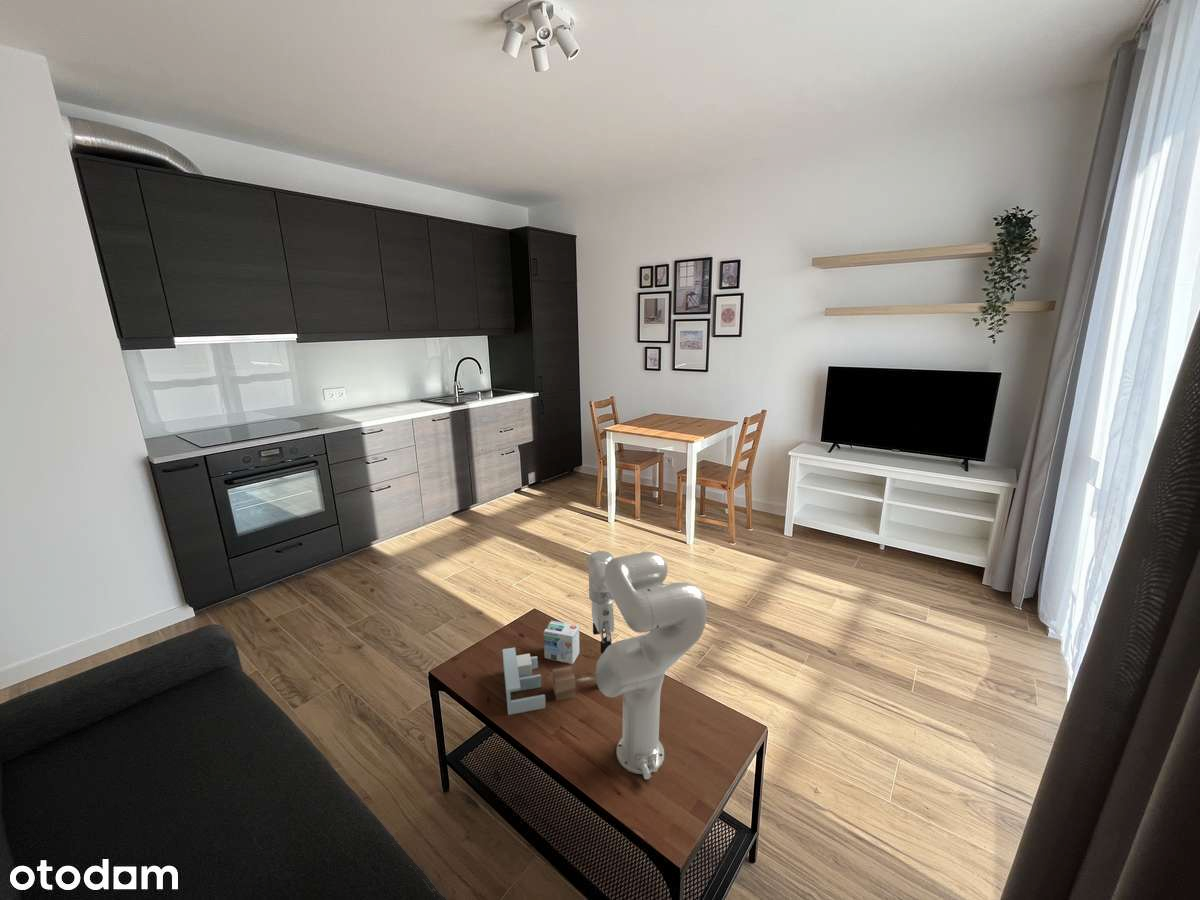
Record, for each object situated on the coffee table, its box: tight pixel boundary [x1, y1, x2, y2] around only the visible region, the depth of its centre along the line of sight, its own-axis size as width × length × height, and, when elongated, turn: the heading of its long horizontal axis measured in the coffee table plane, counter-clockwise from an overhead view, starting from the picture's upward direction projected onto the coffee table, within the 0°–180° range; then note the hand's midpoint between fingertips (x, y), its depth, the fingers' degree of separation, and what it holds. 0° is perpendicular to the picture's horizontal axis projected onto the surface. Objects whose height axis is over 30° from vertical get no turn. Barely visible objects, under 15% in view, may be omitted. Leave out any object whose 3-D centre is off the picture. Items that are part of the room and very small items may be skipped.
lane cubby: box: [502, 647, 547, 716], centre depth 154 cm, size 19×11×9 cm, turn 14°
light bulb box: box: [543, 620, 580, 665], centre depth 170 cm, size 11×7×11 cm, turn 73°
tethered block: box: [552, 665, 599, 702], centre depth 154 cm, size 6×16×7 cm, turn 105°
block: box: [516, 653, 533, 678], centre depth 159 cm, size 6×6×7 cm
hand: (601, 642), depth 152 cm, fingers open, 9 cm apart
